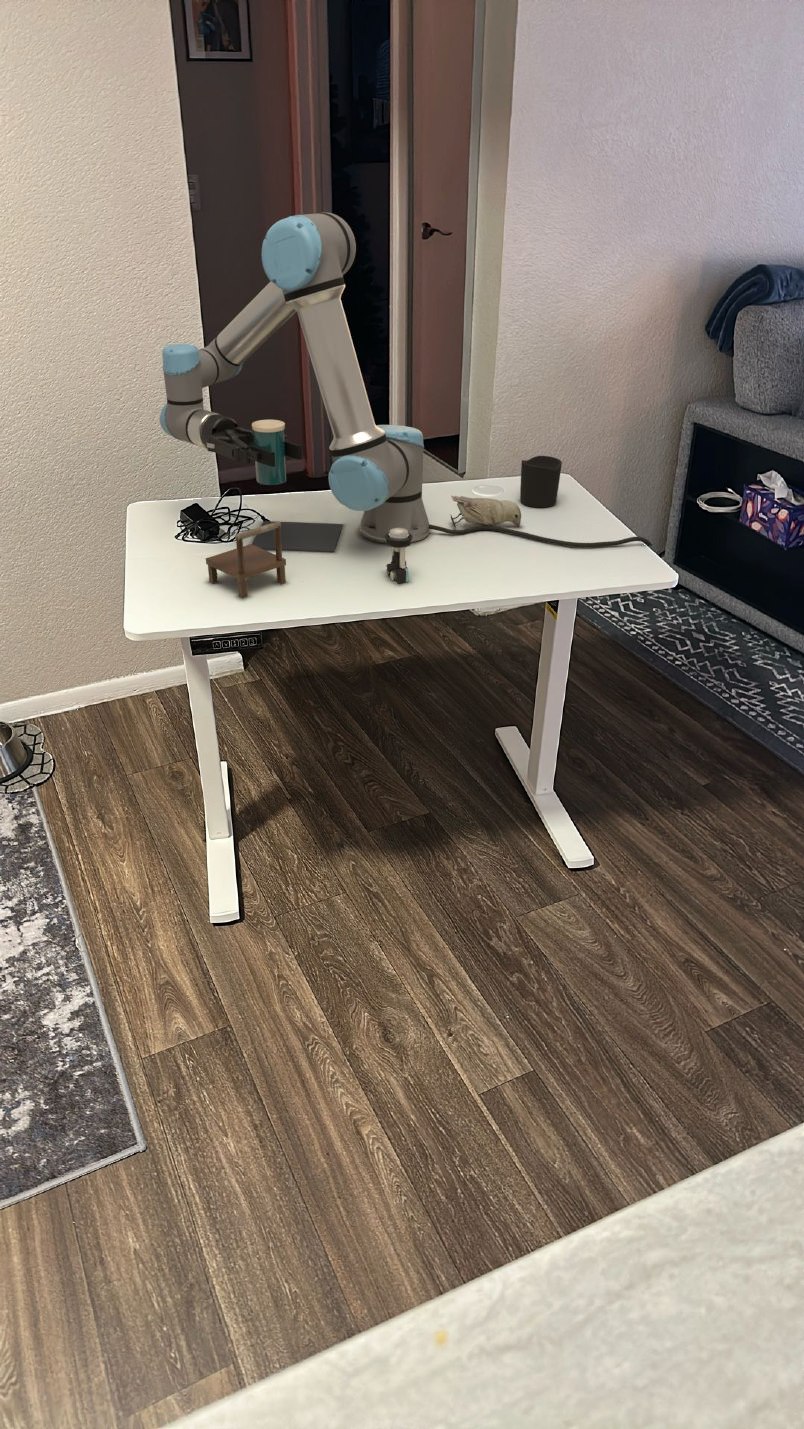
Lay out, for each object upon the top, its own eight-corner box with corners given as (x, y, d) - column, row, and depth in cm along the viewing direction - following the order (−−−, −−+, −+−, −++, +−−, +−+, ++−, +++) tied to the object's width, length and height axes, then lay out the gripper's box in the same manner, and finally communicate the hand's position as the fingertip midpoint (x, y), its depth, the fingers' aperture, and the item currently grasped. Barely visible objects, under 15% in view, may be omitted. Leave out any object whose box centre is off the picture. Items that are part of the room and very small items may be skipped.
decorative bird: (522, 531, 213) (524, 498, 209) (450, 532, 212) (452, 500, 208) (517, 522, 217) (520, 490, 213) (448, 523, 216) (449, 491, 212)
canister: (289, 475, 193) (287, 420, 187) (285, 485, 188) (282, 428, 182) (258, 474, 194) (254, 419, 188) (252, 484, 188) (248, 427, 182)
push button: (376, 574, 191) (376, 527, 186) (398, 569, 193) (399, 522, 188) (394, 586, 186) (394, 538, 181) (416, 580, 189) (417, 532, 183)
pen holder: (559, 509, 225) (564, 467, 220) (520, 508, 225) (523, 467, 220) (554, 496, 233) (559, 455, 228) (516, 495, 233) (519, 455, 228)
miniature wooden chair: (207, 582, 187) (201, 520, 180) (252, 566, 193) (248, 507, 187) (242, 599, 180) (237, 536, 174) (287, 582, 187) (283, 521, 180)
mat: (342, 525, 214) (342, 523, 214) (334, 552, 201) (333, 550, 200) (263, 522, 215) (263, 521, 215) (249, 549, 201) (249, 547, 201)
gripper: (252, 441, 206) (323, 464, 192) (178, 459, 194) (249, 485, 181) (249, 406, 202) (322, 427, 189) (174, 422, 190) (246, 446, 177)
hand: (286, 456), depth 185 cm, fingers closed on canister, 6 cm apart
